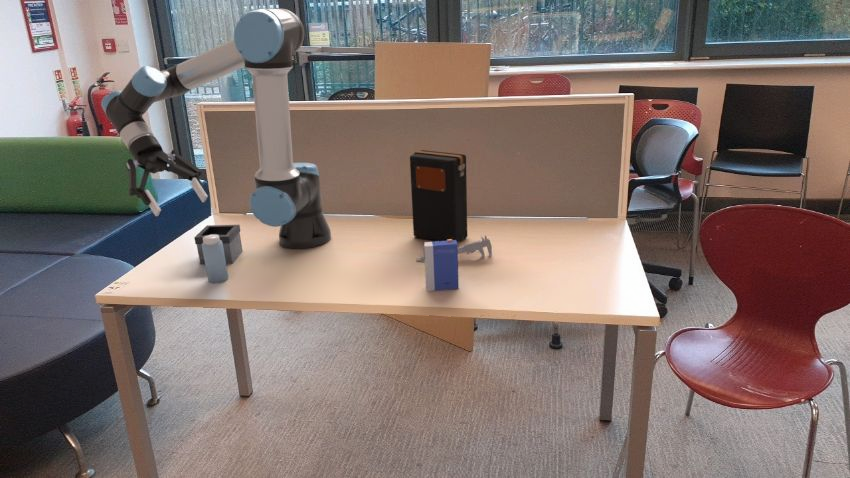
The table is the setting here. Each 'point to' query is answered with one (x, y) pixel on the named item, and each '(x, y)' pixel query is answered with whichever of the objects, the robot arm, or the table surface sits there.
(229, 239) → the square planter pot
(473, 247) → the caliper
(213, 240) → the white-capped blue bottle
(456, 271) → the walkman
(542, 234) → the table surface
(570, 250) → the table surface
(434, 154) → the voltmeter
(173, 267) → the table surface
